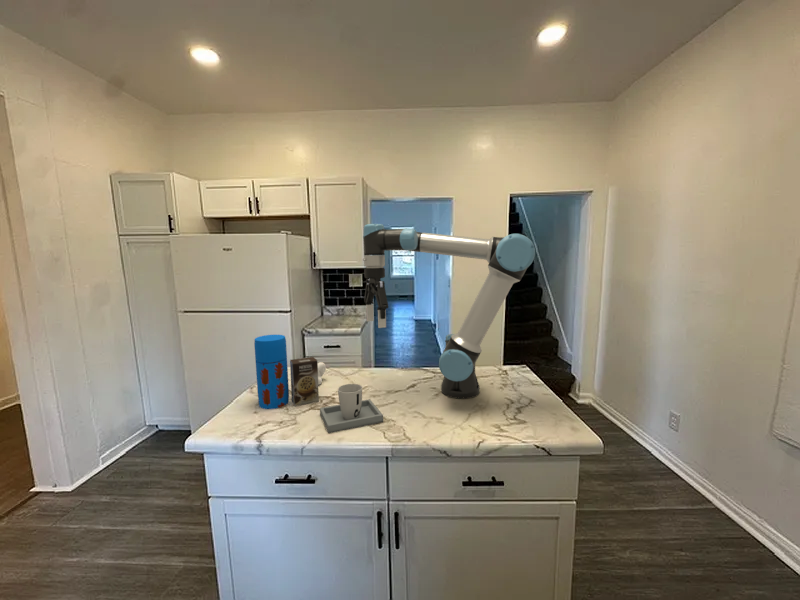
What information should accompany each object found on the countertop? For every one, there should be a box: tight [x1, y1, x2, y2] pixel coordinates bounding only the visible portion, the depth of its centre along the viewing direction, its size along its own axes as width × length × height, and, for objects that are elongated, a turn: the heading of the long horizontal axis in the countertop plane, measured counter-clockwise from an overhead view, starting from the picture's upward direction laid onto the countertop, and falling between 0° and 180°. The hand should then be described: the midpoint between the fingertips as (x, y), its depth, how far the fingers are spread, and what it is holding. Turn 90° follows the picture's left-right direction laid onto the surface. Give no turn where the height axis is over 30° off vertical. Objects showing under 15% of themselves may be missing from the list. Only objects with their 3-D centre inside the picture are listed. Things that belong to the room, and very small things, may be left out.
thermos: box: [254, 334, 290, 410], centre depth 130 cm, size 11×11×25 cm
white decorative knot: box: [317, 361, 327, 386], centre depth 152 cm, size 11×12×9 cm
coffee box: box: [289, 356, 320, 407], centre depth 132 cm, size 9×6×16 cm
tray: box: [319, 398, 384, 434], centre depth 119 cm, size 18×14×2 cm
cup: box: [337, 383, 363, 420], centre depth 118 cm, size 8×8×10 cm
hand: (375, 324), depth 132 cm, fingers open, 13 cm apart
